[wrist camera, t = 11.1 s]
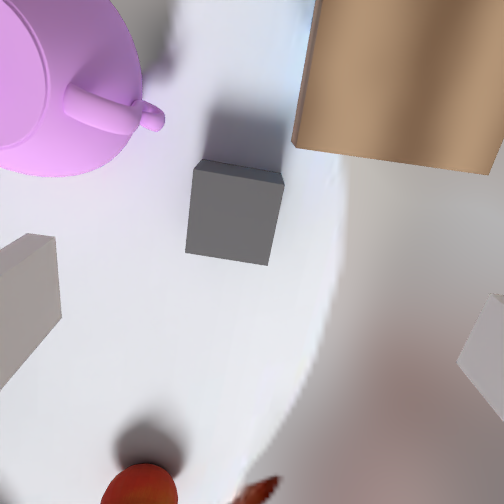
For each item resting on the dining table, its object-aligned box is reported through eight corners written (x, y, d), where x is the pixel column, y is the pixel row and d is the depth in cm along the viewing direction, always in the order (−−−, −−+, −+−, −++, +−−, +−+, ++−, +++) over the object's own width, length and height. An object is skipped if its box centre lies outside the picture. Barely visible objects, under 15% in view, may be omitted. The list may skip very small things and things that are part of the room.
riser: (193, 233, 33) (185, 252, 29) (201, 159, 30) (193, 169, 26) (266, 245, 33) (267, 265, 29) (280, 173, 31) (284, 185, 27)
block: (291, 141, 22) (296, 147, 19) (330, -87, 17) (344, -121, 15) (459, 165, 22) (488, 175, 20) (541, -50, 18) (592, -77, 15)
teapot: (-76, 118, 29) (-281, 132, 18) (-85, -92, 24) (-386, -258, 13) (156, 196, 32) (103, 250, 21) (198, 23, 26) (156, -31, 15)
